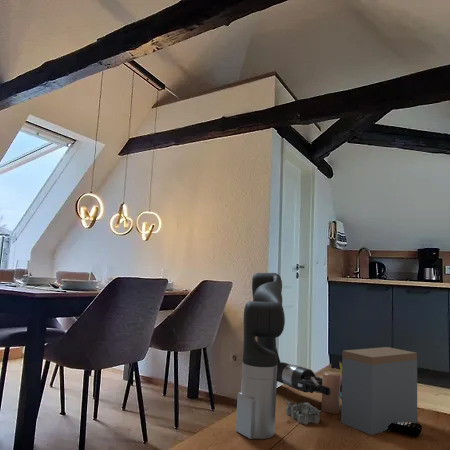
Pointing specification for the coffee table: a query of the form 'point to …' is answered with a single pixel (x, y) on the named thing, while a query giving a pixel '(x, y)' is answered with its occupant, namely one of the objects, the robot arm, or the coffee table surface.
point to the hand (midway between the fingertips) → (336, 390)
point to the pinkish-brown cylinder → (331, 392)
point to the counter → (378, 388)
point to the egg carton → (303, 412)
